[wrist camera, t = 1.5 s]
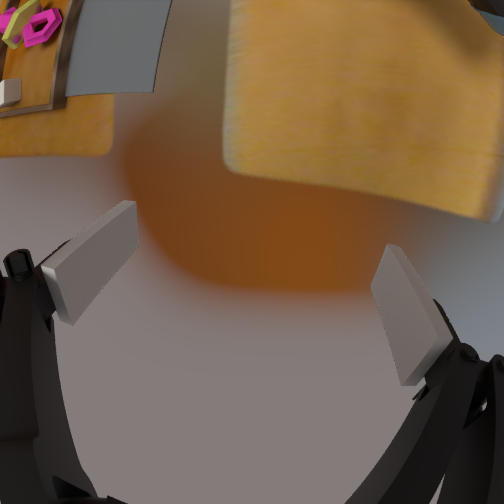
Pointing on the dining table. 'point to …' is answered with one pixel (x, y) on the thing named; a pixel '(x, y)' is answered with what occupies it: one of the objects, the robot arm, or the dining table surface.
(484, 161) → the dining table surface
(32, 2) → the toy
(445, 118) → the dining table surface
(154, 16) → the mat
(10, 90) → the cream block
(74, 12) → the brown wooden frame
